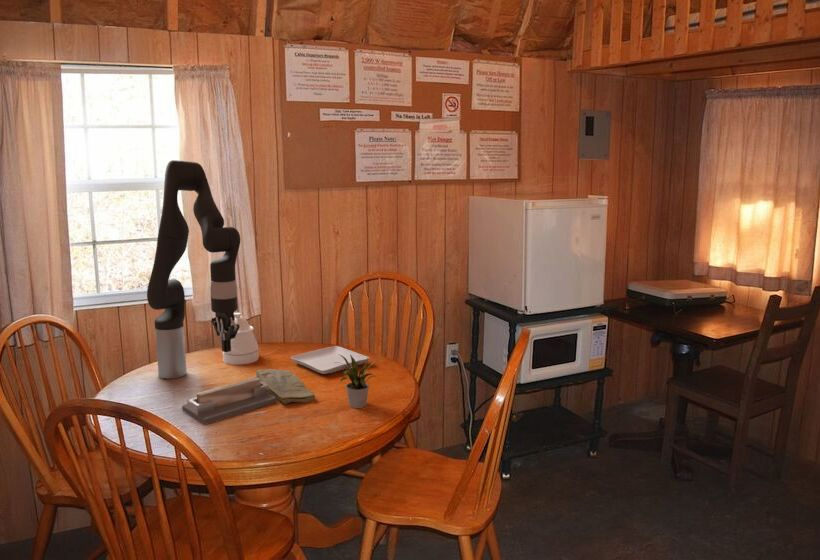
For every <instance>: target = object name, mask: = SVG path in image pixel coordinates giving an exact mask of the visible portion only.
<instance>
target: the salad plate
mask: <svg viewBox="0 0 820 560" xmlns="http://www.w3.org/2000/svg"><path fill="white" fill-rule="evenodd" d="M338 354H339V355H338ZM340 355H342V356H343V357H345V358H346V360H347V361H348V363H349V365H350V367H352V361H351V356H352V357H353V358H354V359H355V361H356V363H358V362H359V363H358V366H360V365H364V364H365V362H366V360H367V358H368V360H367V362H368V361H369V360H370V357H369V356H367V355H364V354H361V353H359V352H356V351H353V350H351V349H350V350H349V349H347V348H344V347H342V346H338V345H334V346H329V347H324V348H323V347H322V348H320V349H316V350H315V349H314V350H311V351H307V352H304V353H299V354H296V355H292V356H290V358H291V360H292V361H293V362H295V363H296V364H298V365H300V366H303V367H306V368H308V369H310V370H313V371H314V372H317V373H318V374H322V375H328V374H329V373H330V374H333V372H334V373H337V372H336V371H338V372H341V371H340V370H342V371H345V370H344V368H345V369H346V370H348V369H347V368H349V367H348V365H347V363H346V361H345V360H344V358H343V357H342V356H340ZM350 355H351V356H350ZM359 356H360V357H359ZM358 359H359V360H358ZM333 362H339V363H333ZM341 363H342V364H341ZM343 364H344V365H345V366H346V367H347V368H346V367H345V366H344V365H343ZM342 366H343V367H344V368H343V367H342ZM352 368H353V367H352Z"/></svg>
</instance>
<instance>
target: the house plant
mask: <svg viewBox="0 0 820 560" xmlns="http://www.w3.org/2000/svg"><path fill="white" fill-rule="evenodd" d="M338 355H339V354H338ZM340 356H342V355H340ZM350 356H351V355H350ZM342 357H343V356H342ZM359 357H360V356H359ZM343 358H344V360H345V361H346V363H347V365H348V367H349V369H348V368H347V367H346V366H345V365H344V364H343V365H344V366H345V367H346V368H347V369H345V368H344V367H343V366H342V367H343V368H344V369H345V370H343V372H342V373H343V374H345V375H346V377H341V378H340V381H339V383H342V382H343V381H345V380H347V379H349V381H350V382H348V383H347V384H346V385H345V389H346V394H347V400H348V405H349V407H350V406H351V407H350V408H352V407H353V409H361V408H364V406H365V407H366V406H367V403H368V395H369V388H370V384H369V383H367V381H368V380H369V379H371V378H372V377H373V378H374V377H375V375H373V373H366V372H367V371H368V370H369V369H370V368H371V367H372V366H373V364H374V363H376V362H378V361H379V359H377V360H374V361H372V363H370V365H368V366H367V363H368V361H369V360H368V358H367V360H368V361H367V360H366V362H365V363H363V367H362V368H360V370H359V365H358V363H359V362H358V363H356V361H355V359H354V358H353V357H352V356H351V361H352V368H351V367H350V365H349V363H348V361H347V360H346V358H345V357H343ZM358 360H359V359H358ZM333 363H339V362H333ZM341 364H342V363H341ZM368 376H369V377H368ZM367 377H368V378H367ZM366 378H367V379H366Z"/></svg>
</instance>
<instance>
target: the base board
mask: <svg viewBox="0 0 820 560" xmlns="http://www.w3.org/2000/svg"><path fill="white" fill-rule="evenodd" d="M276 403H277V399H276V397H274V396H273V395H272V394H271V393H269V394H268V395H265V396H261V397H258V398H254V397H250V398H246V399H243V400H239V401H236V402H233V403H229V404H226V405H223V406H219V407H216V408H213V409H214V411H211V412H208V413H204V414H201V415H196V414H195V413H193V412H191V411H190V410H188V403H187V404H186V403H185V404H183V405H181V410H183V412H184V413H186V414H187V415H189V416H190V417H192V418H194V419H195V420H197V421H198V420H199V422H200V423H202V424H203V425H207V424H211V423H213V422H216V421H219V420H223V419H227V418H230V417H234V416H237V415H239V414H242V413H243V414H244V413H246V412H249V411H250V412H251V411H252V410H256V409H259V408H262V407H265V406H269V405H272V404H276Z"/></svg>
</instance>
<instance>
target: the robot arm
mask: <svg viewBox="0 0 820 560" xmlns="http://www.w3.org/2000/svg"><path fill="white" fill-rule="evenodd" d="M163 182H164V183H163V201H162V209H161V217H160V222H159V227H158V234H157V240H156V249H155V254H154V255H155V256H154V261H153V265H152V269H151V274H150V278H149V282H148V285H147V291H146V299H147V303H148V305H149V307H150V308H151V309H153V310H154V311H155V310H164V311H163V312H162V313H161V314H160V315H159V316H158V317H156V318H155V319H154V333H155V334H154V335H155V345H156V358H157V359H156V360H157V371H158V374H157V375H158V377H159V378H160V379H164V378H166V379H167V380H171V379H177V378H181V377H184V376H186V375H187V372H188V371H187V357H186V356H187V355H186V342H185V341H186V339H185V328H184V327H185V326H184V320H185V317H186V298H185V297H186V296H185V290H184V287H183V284H182V283H181V281H179V280H178V279H176V278H170V276H171V273H172V271H173V270H174V268H175V267H176V265H177V264H178V263H179V261H180V260H181V259H182V257H183V255H184V254H185V252H186V250H187V247H188V241H189V236H190V235H189V234H190V229H189V225H188V222H187V220H186V218H185V216H184V215H183V212H182V211H181V208H180V206H179V202H178V201H179V200H178V194H179V191H186V192H187V191H188V192H195V193H196V194H197V196H196V198H195V201H194V202H193V208H192V209H193V216H194V217H195V219H196V222H198V225H199V226H200V230H201V236H202V246H203V248H204V249H205V250H206V252H207V251H208V252H209V253H213V254H214V253H223V252H224V254H223V256H222V257H220V258H218V259H214V260H213V261H211V262H210V267H209V268H210V305H211V306H210V307H211V308H210V309H211V311H212V312H213V313H215V314H214V317H211V322H212V325H213V327H214V330H215V333H216V335H217V337H219V339H220V340H221V351H222V352H223V351H224V352H230V351H231V339H233V338H235V336H236V334H237V332H238V330H239V327H240V326H239V324H235V322H234V321H235V317H234V313H236V312H237V311H238V286H237V279H236V277H237V276H236V263H237V259H238V255H239V249H240V246H241V234H240V232H239V230H238V229H237V228H235V227H233V226H226V227H225V219H224V217H223V215H222V214H221V212H220V209H219V208H218V206H217V205H216V202H215V201H214V198H213V195H212V190H211V187H210V184H209V181H208V178H207V175H206V173H205V169H204V168H203V166H202V165H201V164H200V163H199V162H197V161H188V160H175V159H172V160H169V161H168V163H167V164H166V167H165V171H164V181H163ZM166 379H165V380H166Z"/></svg>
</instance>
